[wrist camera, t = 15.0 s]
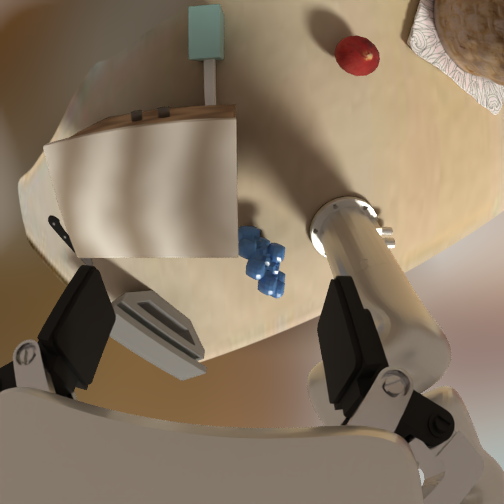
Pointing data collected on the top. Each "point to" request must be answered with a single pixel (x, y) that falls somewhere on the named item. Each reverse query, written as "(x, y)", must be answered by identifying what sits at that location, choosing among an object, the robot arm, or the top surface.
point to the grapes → (262, 260)
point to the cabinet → (150, 184)
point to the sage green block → (206, 43)
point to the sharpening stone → (158, 333)
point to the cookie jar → (464, 45)
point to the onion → (357, 55)
